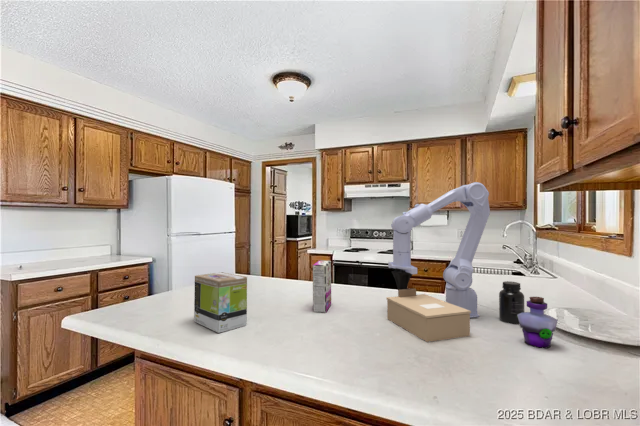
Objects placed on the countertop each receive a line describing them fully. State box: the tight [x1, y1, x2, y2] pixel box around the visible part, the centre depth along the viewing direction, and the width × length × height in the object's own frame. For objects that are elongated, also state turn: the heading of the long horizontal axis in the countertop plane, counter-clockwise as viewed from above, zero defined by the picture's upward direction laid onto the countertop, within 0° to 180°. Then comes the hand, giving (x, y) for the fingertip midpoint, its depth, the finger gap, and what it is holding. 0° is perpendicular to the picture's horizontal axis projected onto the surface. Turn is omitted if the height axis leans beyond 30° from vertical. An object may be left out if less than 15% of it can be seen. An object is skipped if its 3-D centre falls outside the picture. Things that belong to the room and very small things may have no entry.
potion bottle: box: [517, 296, 559, 350], centre depth 81 cm, size 9×9×12 cm
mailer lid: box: [385, 288, 471, 318], centre depth 94 cm, size 14×20×3 cm
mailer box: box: [386, 299, 471, 343], centre depth 94 cm, size 14×20×6 cm
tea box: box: [193, 271, 248, 334], centre depth 97 cm, size 15×10×15 cm, turn 47°
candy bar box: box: [311, 260, 332, 314], centre depth 114 cm, size 11×5×16 cm, turn 168°
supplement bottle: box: [498, 280, 525, 325], centre depth 99 cm, size 7×7×12 cm
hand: (402, 292), depth 106 cm, fingers closed
